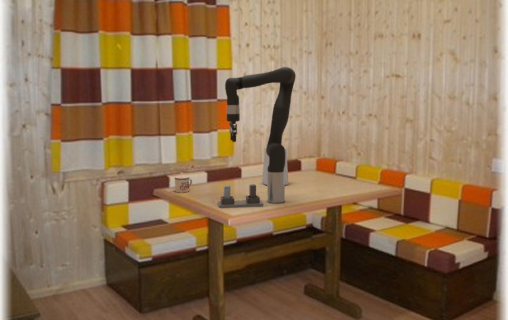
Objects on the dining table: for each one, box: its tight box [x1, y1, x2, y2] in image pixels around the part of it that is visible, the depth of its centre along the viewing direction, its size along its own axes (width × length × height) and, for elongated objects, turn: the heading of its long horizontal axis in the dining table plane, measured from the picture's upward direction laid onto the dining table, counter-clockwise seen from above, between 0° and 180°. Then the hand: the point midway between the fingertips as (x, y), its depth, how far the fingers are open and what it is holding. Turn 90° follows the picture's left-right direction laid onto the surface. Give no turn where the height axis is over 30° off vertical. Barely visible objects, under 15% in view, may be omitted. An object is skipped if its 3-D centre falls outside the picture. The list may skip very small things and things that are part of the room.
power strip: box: [216, 183, 264, 209], centre depth 295 cm, size 24×10×11 cm, turn 99°
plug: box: [223, 184, 231, 199], centre depth 294 cm, size 3×4×10 cm
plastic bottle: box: [261, 145, 289, 187], centre depth 354 cm, size 15×15×28 cm
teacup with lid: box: [174, 172, 193, 193], centre depth 334 cm, size 12×9×12 cm
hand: (233, 141), depth 312 cm, fingers open, 8 cm apart
